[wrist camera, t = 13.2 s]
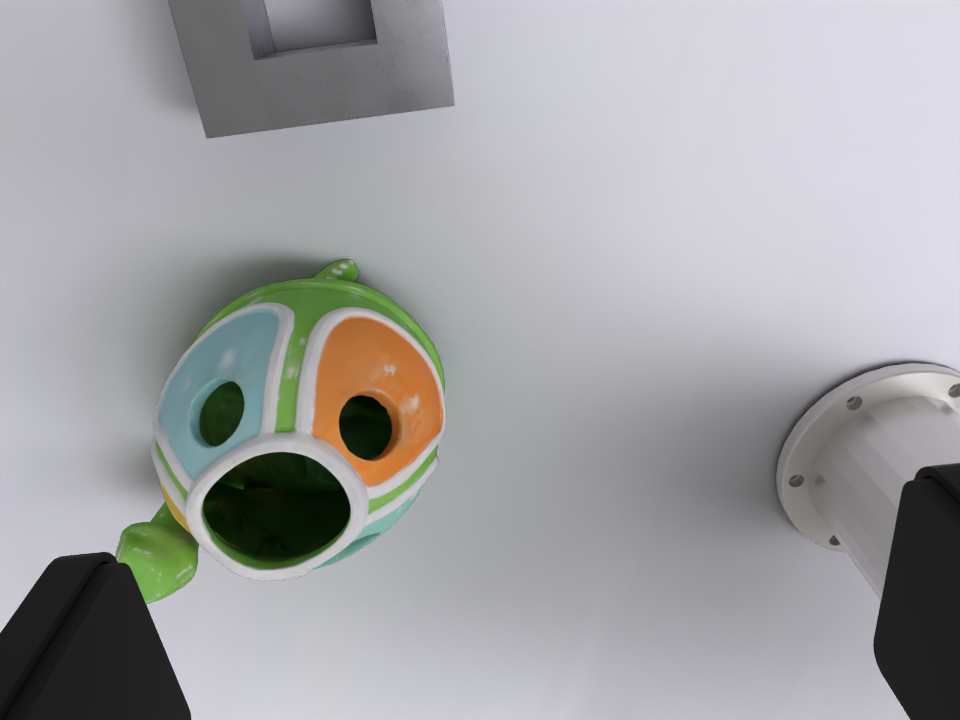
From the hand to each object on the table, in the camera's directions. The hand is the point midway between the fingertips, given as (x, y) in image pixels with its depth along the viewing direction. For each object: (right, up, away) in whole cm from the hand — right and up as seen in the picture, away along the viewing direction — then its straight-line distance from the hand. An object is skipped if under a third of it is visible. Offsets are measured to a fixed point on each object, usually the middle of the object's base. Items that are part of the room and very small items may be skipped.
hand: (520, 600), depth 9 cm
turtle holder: (-10, +1, +31) cm, 32 cm away
